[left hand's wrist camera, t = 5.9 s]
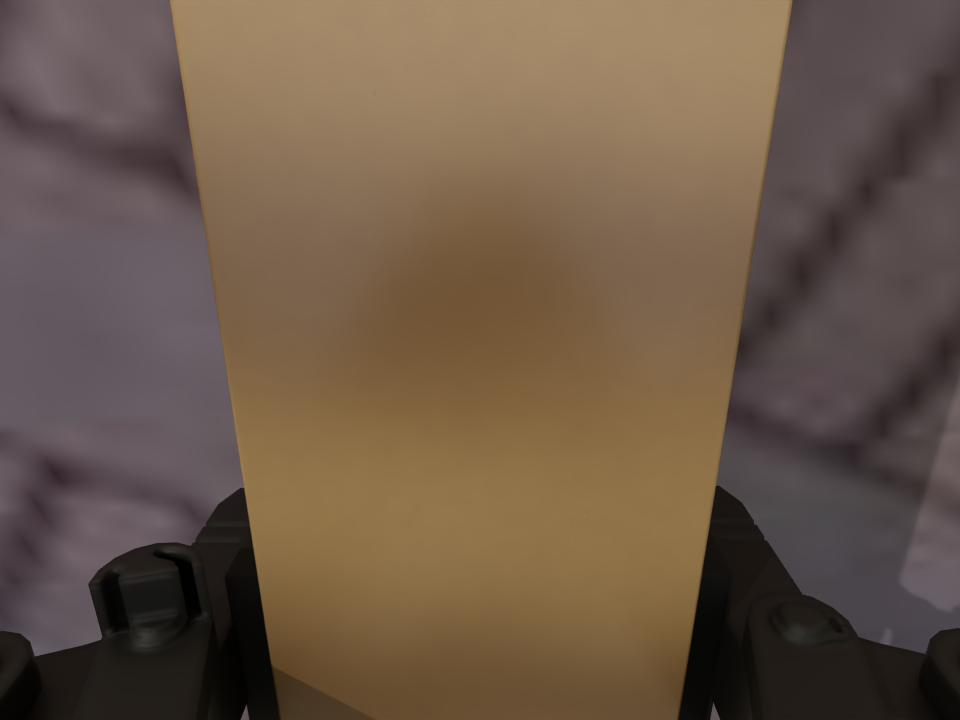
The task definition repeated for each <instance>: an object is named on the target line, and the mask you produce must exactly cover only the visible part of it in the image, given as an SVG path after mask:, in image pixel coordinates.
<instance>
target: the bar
mask: <svg viewBox="0 0 960 720" xmlns="http://www.w3.org/2000/svg"><path fill="white" fill-rule="evenodd" d="M792 2H793V0H170V4H171V11H172V17H173V24H174V30H175V37H176V43H177V50H178V57H179V63H180V70H181V76H182V83H183V89H184V96H185V102H186V109H187V116H188V122H189V129H190V135H191V142H192V148H193V155H194V161H195V168H196V174H197V181H198V188H199V194H200V201H201V207H202V214H203V220H204V227H205V233H206V240H207V247H208V253H209V260H210V266H211V273H212V279H213V286H214V292H215V299H216V306H217V312H218V319H219V325H220V332H221V338H222V345H223V351H224V358H225V365H226V371H227V378H228V384H229V391H230V397H231V404H232V410H233V417H234V424H235V430H236V437H237V443H238V450H239V456H240V463H241V469H242V476H243V483H244V489H245V496H246V502H247V509H248V515H249V522H250V528H251V535H252V542H253V548H254V555H255V561H256V568H257V574H258V581H259V587H260V594H261V601H262V607H263V614H264V620H265V627H266V633H267V640H268V646H269V653H270V659H271V666H272V673H273V679H274V686H275V692H276V699H277V705H278V712H279V718H280V720H679V715H680V708H681V702H682V696H683V689H684V683H685V677H686V670H687V664H688V658H689V651H690V645H691V639H692V633H693V626H694V620H695V614H696V607H697V601H698V595H699V588H700V582H701V576H702V569H703V563H704V557H705V551H706V544H707V538H708V532H709V525H710V519H711V513H712V506H713V500H714V494H715V488H716V481H717V475H718V469H719V462H720V456H721V450H722V443H723V437H724V431H725V424H726V418H727V412H728V406H729V399H730V393H731V387H732V380H733V374H734V368H735V361H736V355H737V349H738V343H739V336H740V330H741V324H742V317H743V311H744V305H745V298H746V292H747V286H748V279H749V273H750V267H751V261H752V254H753V248H754V242H755V235H756V229H757V223H758V216H759V210H760V204H761V197H762V191H763V185H764V179H765V172H766V166H767V160H768V153H769V147H770V141H771V134H772V128H773V122H774V116H775V109H776V103H777V97H778V90H779V84H780V78H781V71H782V65H783V59H784V52H785V46H786V40H787V34H788V27H789V21H790V15H791V8H792Z"/></svg>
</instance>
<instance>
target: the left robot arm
mask: <svg viewBox="0 0 960 720" xmlns="http://www.w3.org/2000/svg"><path fill="white" fill-rule="evenodd" d="M88 585H89V589H90V593H91V596H92V600H93V604H94V607H95V611H96V615H97V618H98V622H99V626H100V629H101V633H102V639H101V640H99V641H96V642H93V643H89V644H86V645H83V646H78V647H74V648H70V649H65V650H61V651H57V652H53V653H48V654H44V655H40V656H36V657H35V656H34V653H33V650H32V646H31V643H30V642H29V641H28V640H27V639H26V638H25V637H24V636H22V635H21V634H19V633H13V632H6V631H0V720H241V717H242V714H243V712H244V709H245V707H246V704H247V709H248V714H249V720H280V718H279V712H278V705H277V699H276V692H275V686H274V679H273V673H272V666H271V659H270V653H269V646H268V640H267V633H266V627H265V620H264V614H263V607H262V601H261V594H260V587H259V581H258V574H257V568H256V561H255V555H254V548H253V542H252V535H251V528H250V522H249V515H248V509H247V502H246V496H245V489H244V488H240V489H238V490H237V491H236V492H234V493H233V494H232V495H230V496H229V497H228V498H226V499H225V500H224V501H222V502H221V503H219V504H218V506H217V507H216V509H215V510H214V512H213V513H212V515H211V516H210V518H209V519H208V521H207V522H206V527H203V529H202V530H201V532H200V533H199V535H198V536H197V538H196V542H195V543H193V544H192V545H191V546H189V545H185V544H181V543H177V542H175V543H156V544H152V545H148V546H144V547H140V548H136V549H133V550H131V551H129V552H127V553H125V554H123V555H120V556H118V557H116V558H114V559H113V560H112V561H110V562H109V563H108V564H106V565H105V566H104V567H102V568H101V569H100V570H98V572H97V573H96V574H95V576H94V577H93V578H92V580H91V581H90V583H89V584H88ZM713 702H714V705H715V707H716V710H717V712H718V715H719V718H720V720H960V629H959V628H955V629H949V630H943V631H939V632H938V633H937V634H936V635H935V636H933V637H932V638H931V639H930V642H929V645H928V648H927V651H926V654H923V653H919V652H914V651H910V650H906V649H902V648H897V647H893V646H889V645H884V644H880V643H876V642H873V641H869V640H866V639H863V638H860V637H858V635H857V634H856V632H855V631H854V629H853V627H852V626H851V624H850V623H849V621H848V620H847V619H846V618H844V617H843V616H842V615H841V614H840V613H838V612H837V611H836V610H835V609H834V608H832V607H831V606H829V605H827V604H825V603H823V602H821V601H819V600H817V599H815V598H813V597H810V596H806V595H802V593H801V592H800V590H799V588H798V587H797V585H796V584H795V582H794V581H793V579H792V578H791V576H790V575H789V573H788V572H787V570H786V569H785V567H784V566H783V564H782V563H781V561H780V560H779V558H778V557H777V555H776V554H775V552H774V551H773V549H772V548H771V546H770V545H769V543H768V542H767V541H765V540H764V536H763V534H762V533H761V531H760V530H759V528H758V526H757V525H754V520H753V519H752V517H751V516H750V514H749V513H748V511H747V510H746V508H745V507H744V505H743V504H742V502H740V501H739V500H738V499H736V498H735V497H734V496H732V495H731V494H730V493H728V492H727V491H725V490H724V489H723V488H721V487H720V486H716V488H715V494H714V500H713V506H712V513H711V519H710V525H709V532H708V538H707V544H706V551H705V557H704V563H703V569H702V576H701V582H700V588H699V595H698V601H697V607H696V614H695V620H694V626H693V633H692V639H691V645H690V651H689V658H688V664H687V670H686V677H685V683H684V689H683V696H682V702H681V708H680V715H679V720H710V717H711V712H712V706H713Z"/></svg>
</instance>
